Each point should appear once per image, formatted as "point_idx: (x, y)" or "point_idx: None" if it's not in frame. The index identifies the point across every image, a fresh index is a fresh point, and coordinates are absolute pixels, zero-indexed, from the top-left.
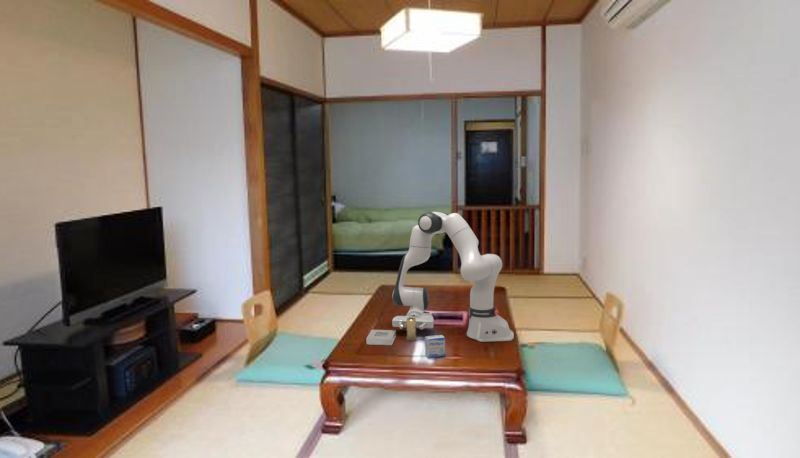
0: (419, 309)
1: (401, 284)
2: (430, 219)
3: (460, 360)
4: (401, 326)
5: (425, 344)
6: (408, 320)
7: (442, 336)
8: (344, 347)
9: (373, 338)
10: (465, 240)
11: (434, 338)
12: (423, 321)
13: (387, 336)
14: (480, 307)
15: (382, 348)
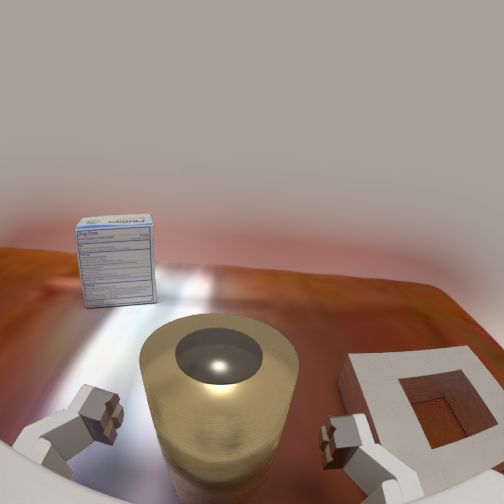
0: None
1: None
2: None
3: (65, 270)
4: (341, 419)
5: (153, 257)
6: (256, 321)
7: (84, 220)
8: (485, 337)
9: (441, 349)
10: None
11: (123, 215)
12: (26, 456)
13: (395, 382)
14: None
15: (365, 350)
